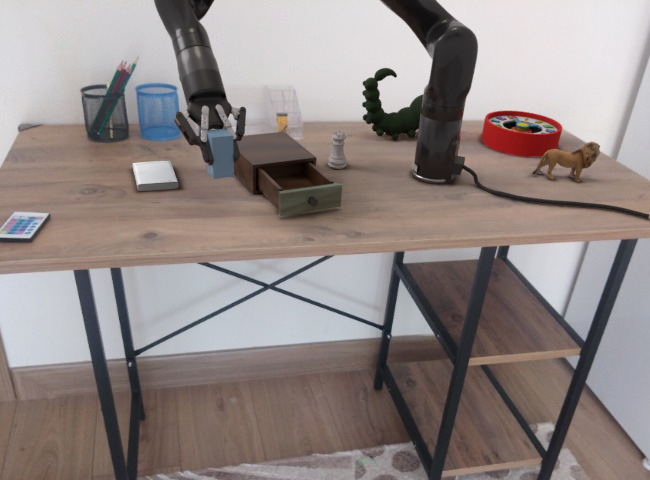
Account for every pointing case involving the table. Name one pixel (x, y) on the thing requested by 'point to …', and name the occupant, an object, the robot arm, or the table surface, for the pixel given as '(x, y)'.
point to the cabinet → (267, 155)
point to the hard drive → (154, 175)
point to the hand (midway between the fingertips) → (223, 161)
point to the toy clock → (520, 133)
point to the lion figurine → (570, 159)
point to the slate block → (221, 153)
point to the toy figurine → (392, 122)
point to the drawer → (298, 188)
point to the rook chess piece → (337, 151)
